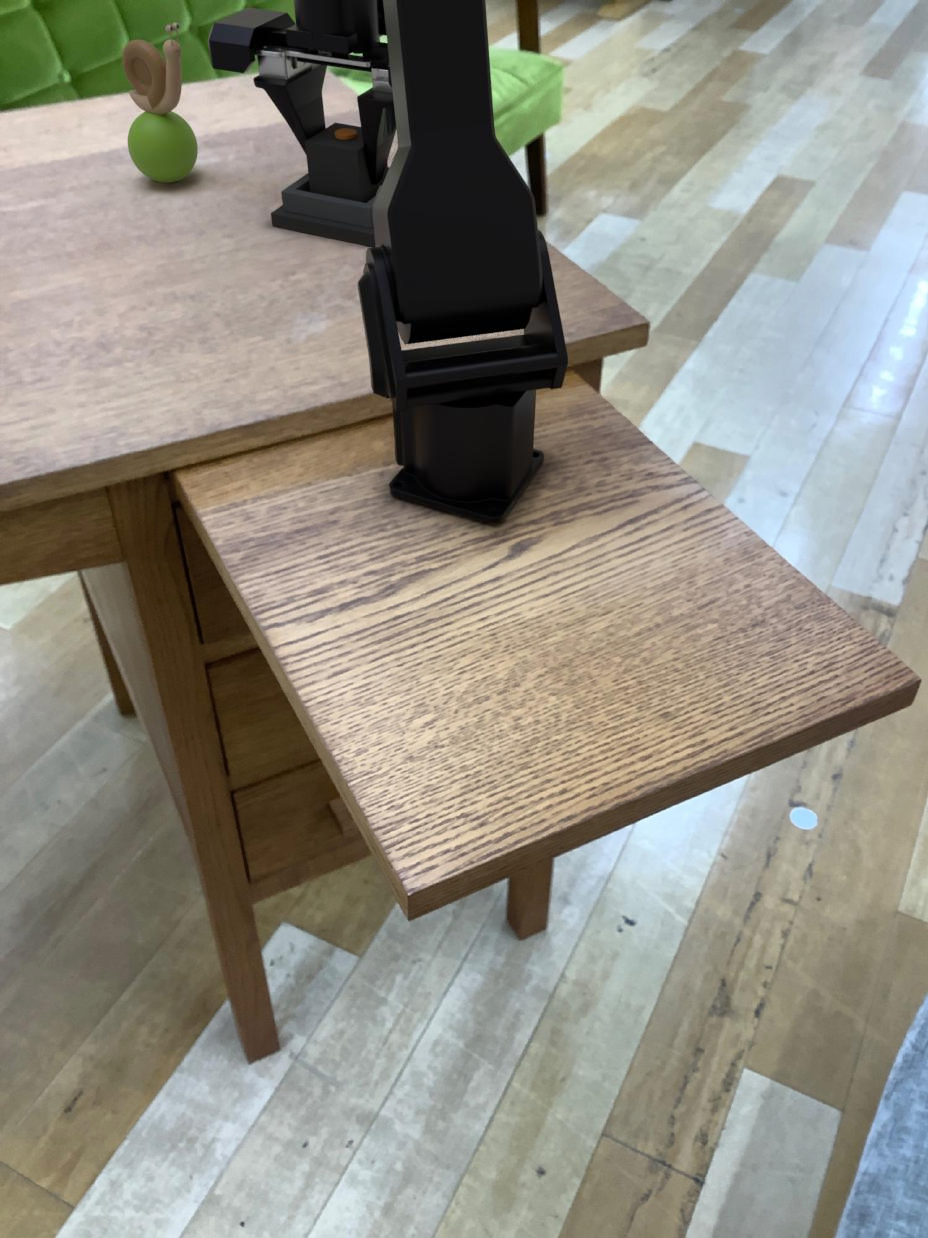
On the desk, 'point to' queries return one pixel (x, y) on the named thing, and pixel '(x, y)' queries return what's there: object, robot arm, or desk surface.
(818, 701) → the desk surface
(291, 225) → the base pad
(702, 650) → the desk surface
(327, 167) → the pad block
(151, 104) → the snail figurine
